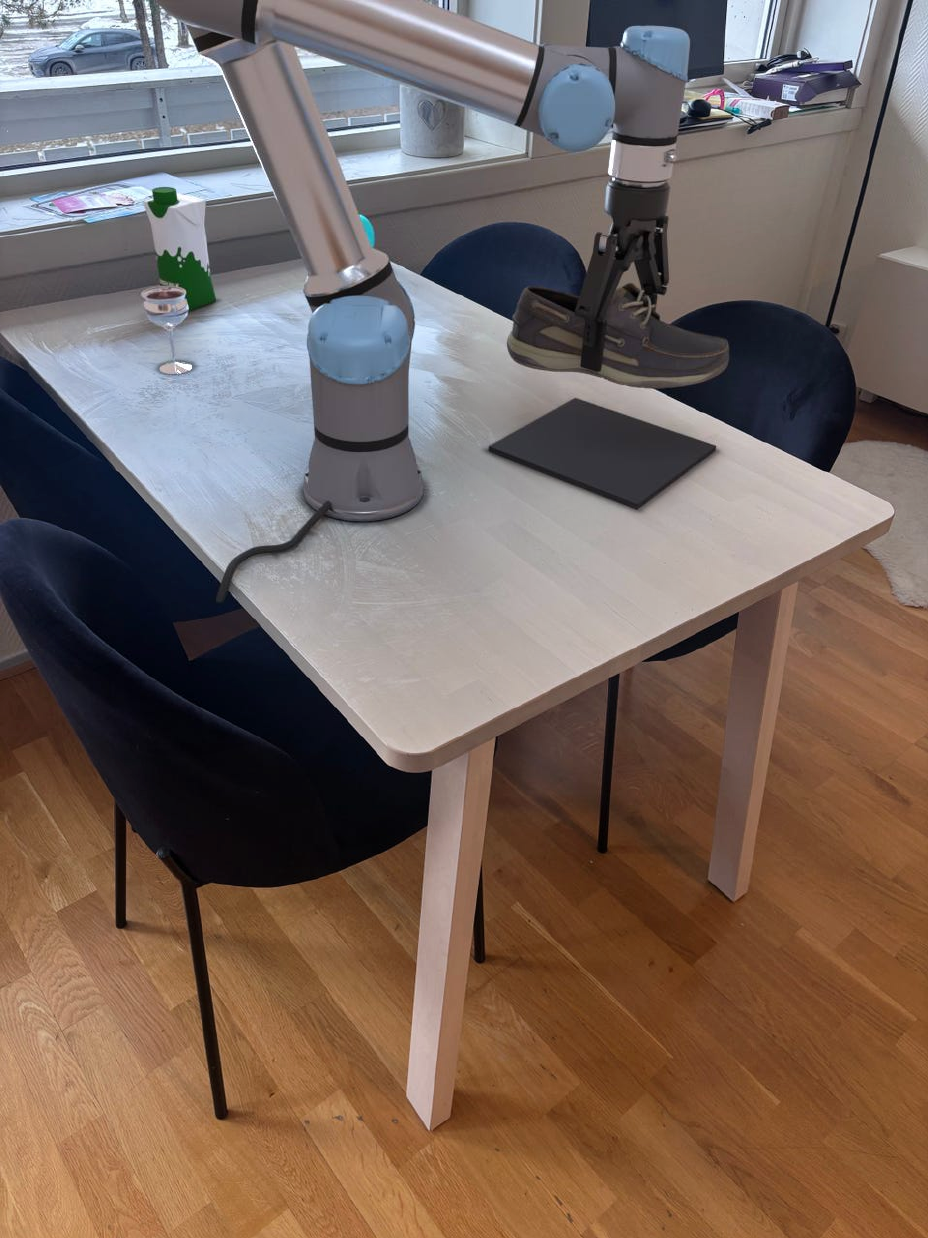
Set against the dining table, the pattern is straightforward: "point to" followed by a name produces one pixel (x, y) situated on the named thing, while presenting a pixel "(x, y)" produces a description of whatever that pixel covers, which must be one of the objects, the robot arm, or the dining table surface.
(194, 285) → the milk carton
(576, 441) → the boot mat
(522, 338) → the boat shoe
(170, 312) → the wineglass
